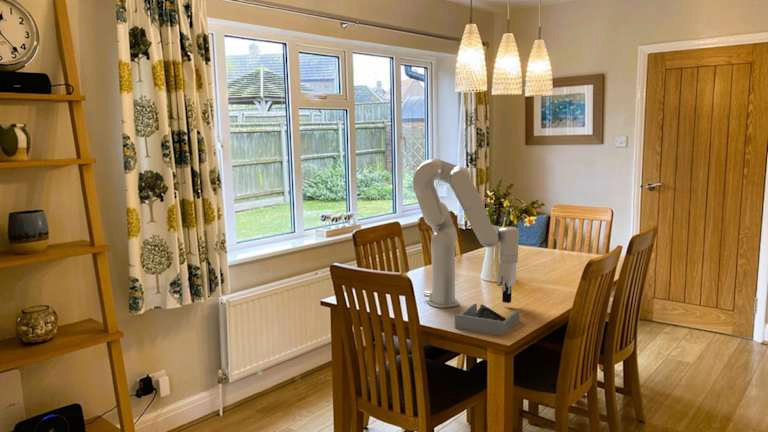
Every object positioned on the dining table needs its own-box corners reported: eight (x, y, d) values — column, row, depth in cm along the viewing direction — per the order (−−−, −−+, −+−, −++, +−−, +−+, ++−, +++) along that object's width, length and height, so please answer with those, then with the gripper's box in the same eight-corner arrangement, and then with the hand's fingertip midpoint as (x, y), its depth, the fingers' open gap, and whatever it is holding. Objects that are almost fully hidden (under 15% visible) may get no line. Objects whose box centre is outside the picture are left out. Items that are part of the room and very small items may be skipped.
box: (454, 327, 210) (454, 314, 209) (474, 313, 226) (474, 300, 225) (502, 336, 201) (502, 322, 200) (519, 320, 217) (519, 307, 216)
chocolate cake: (511, 322, 217) (490, 297, 220) (510, 323, 210) (488, 297, 213) (492, 338, 218) (471, 314, 221) (491, 340, 211) (469, 314, 214)
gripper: (505, 253, 239) (503, 296, 241) (492, 260, 226) (491, 305, 229) (523, 255, 235) (521, 298, 238) (511, 262, 222) (509, 308, 225)
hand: (506, 302), depth 233 cm, fingers closed
